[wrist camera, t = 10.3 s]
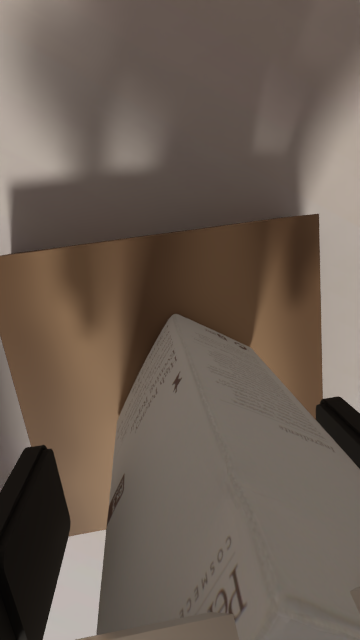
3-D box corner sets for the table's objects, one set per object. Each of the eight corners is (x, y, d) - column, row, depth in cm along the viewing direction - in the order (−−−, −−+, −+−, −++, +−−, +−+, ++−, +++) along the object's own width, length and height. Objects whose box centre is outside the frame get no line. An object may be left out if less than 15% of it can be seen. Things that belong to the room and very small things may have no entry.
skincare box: (169, 308, 15) (268, 590, 3) (257, 348, 16) (586, 682, 4) (112, 426, 16) (30, 956, 4) (197, 457, 17) (322, 964, 5)
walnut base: (282, 217, 18) (318, 213, 14) (293, 443, 22) (324, 489, 18) (15, 253, 17) (-21, 259, 14) (73, 482, 21) (56, 538, 17)
